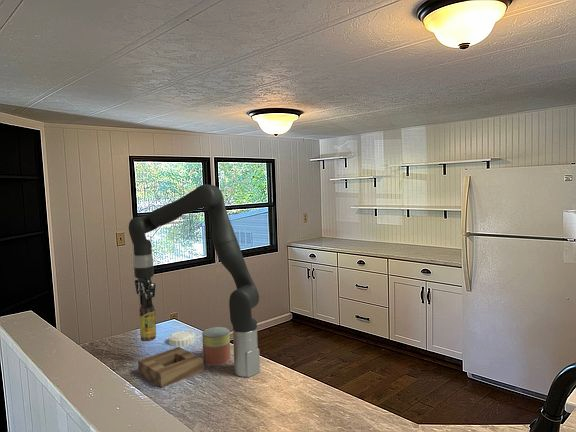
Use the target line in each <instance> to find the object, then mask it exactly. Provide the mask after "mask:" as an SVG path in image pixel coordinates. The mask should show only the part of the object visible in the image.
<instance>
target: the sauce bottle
mask: <svg viewBox="0 0 576 432" xmlns="http://www.w3.org/2000/svg"><path fill="white" fill-rule="evenodd" d="M147 294H148V293H147ZM141 295H142V305H140V307H139V333H140V334H139V336H140V341H141V342H151V341H154V340H155V339H157V325H156V324H157V323H156V310H155V306H154V304H153V303H152V307H150V308H147V307H146V296H145V294H144V293H143V292H142V294H141Z"/></svg>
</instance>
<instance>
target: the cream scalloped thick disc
mask: <svg viewBox="0 0 576 432" xmlns="http://www.w3.org/2000/svg"><path fill="white" fill-rule="evenodd" d="M194 341H195V342H196V333H194V332H192V331H187V330H184V331H182V330H181V331H177V332H173V333H172V334H170V335H169V336H168V345H169V346H171V347H175V348H177V347H180V348H182V347H186V345H187V346H190V345H192V344H194V343H195V342H194ZM189 344H190V345H189Z"/></svg>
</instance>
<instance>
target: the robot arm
mask: <svg viewBox="0 0 576 432" xmlns="http://www.w3.org/2000/svg"><path fill="white" fill-rule="evenodd" d="M199 209H205V210H206V211H207V213H208V215H209V218H210V221H211V228H212V229H211V231H212V232H211V234H212V244H213V248H214V250H215V253H216V255H217V258H218V260H219V262H220V263H221V264H222V265H223V267H224V268H225V269H226V271H228V273H230V275H231V277H232V279H233V281H234V284H235V287H236V289H235V290H233V291H232V292H231V293H230V296H229V299H228V301H229V302H228V307H229V317H230V323H231V325H232V339H233V364H234V365H233V367H234V374H235V375H236V376H239V377H245V378H250V377H252V376H255V375H257V374H259V373H261V365H260V362H261V361H260V348H258V322H257V320H256V319H255V318H253V315H252V309H254V308H256V306H257V305H258V304H259V301H260V295H259V294H260V293H259V291H258V289H257V286H256V284H255V282H254V281H253V280H254V279H252V277H251V274H250V272H249V269H248V267H247V264H246V261H245V258H244V256H243V254H242V250H241V247H240V244H239V241H238V239H237V236H236V234H235V231H234V228H233V226H232V223H231V219H230V218H229V215H228V211H227V208H226V204H225V200H224V196H223V192H222V190H221V189H220V188H219V186H216V185H214V184H205V183H204V184H201V185H199V186H197V187H196V188H195V189H193V190H191V191H190V192H188V193H186V195H184V196H182V197H181V198H180V197H179V198H178V199H176V200H174V201H172V202H169V203H167V204H165V205H163V206H160V207H158V208H155V209H154V210H152V211H151V212H150V213H148V214H146V215H143V216H136V217H135V216H134V217H133V218H132V219H130V220H129V223H128V234H129V236H130V239H131V242H132V245H133V271H134V285H135V292H136V294H137V295H138V296H139V303H140V306H141V305H142V295H141V294H142V292H143V293H144V294H145V296H146V307H147V308H150V307H152V304H153V298H155V295H156V283H152V279H151V278H152V277H154V275H155V272H154V257H153V249H152V248H153V247H152V242H151V240H150V239H148V238H147V235H146V234H147V233H150V232H153V231H155V230H156V229H158V228H160V227H162V226H164V225H167V224H170V223H172V222H174V221H175V220H177V219H179V218H180V217H182V216H184V215H185V214H188V213H189V212H191V211H196V210H199ZM135 279H136V280H135ZM147 293H148V294H147Z"/></svg>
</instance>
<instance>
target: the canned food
mask: <svg viewBox="0 0 576 432" xmlns="http://www.w3.org/2000/svg"><path fill="white" fill-rule="evenodd" d="M230 333H231V331H230V329H229V328H228V327H223V326H216V327H215V326H213V327H210V328H206V329H204V330H203V331H202V332H201V335H202V353H203V354H202V356H203V357H202V359H203V364H205V365H207V366H214V367H215V366H222V365H225V364H228V363H229V362H230V361H231V339H230V336H231V335H230Z"/></svg>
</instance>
